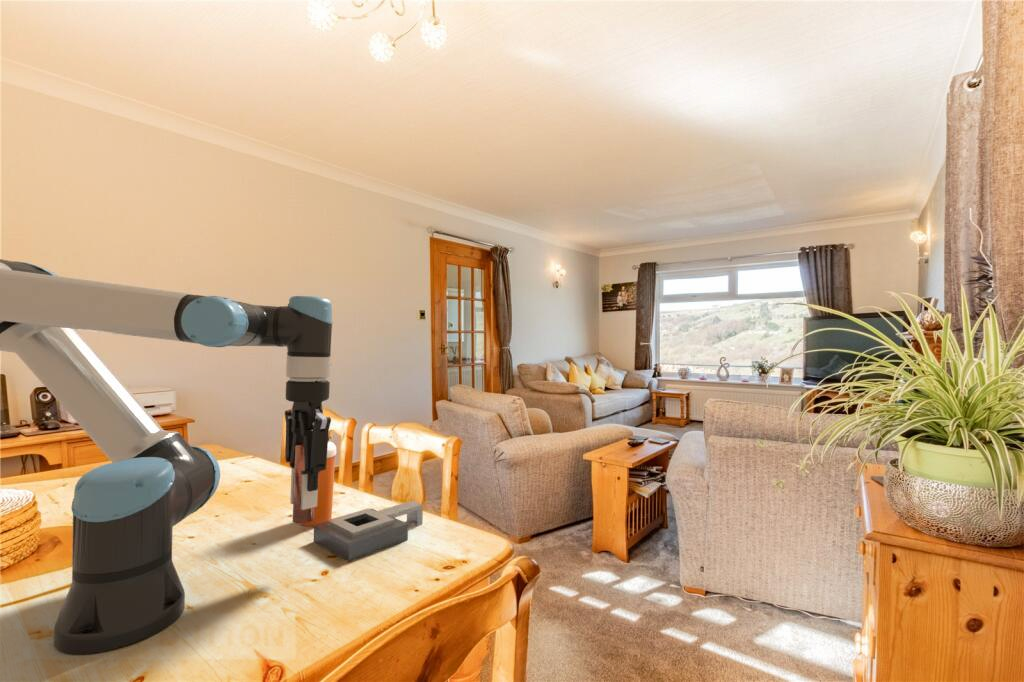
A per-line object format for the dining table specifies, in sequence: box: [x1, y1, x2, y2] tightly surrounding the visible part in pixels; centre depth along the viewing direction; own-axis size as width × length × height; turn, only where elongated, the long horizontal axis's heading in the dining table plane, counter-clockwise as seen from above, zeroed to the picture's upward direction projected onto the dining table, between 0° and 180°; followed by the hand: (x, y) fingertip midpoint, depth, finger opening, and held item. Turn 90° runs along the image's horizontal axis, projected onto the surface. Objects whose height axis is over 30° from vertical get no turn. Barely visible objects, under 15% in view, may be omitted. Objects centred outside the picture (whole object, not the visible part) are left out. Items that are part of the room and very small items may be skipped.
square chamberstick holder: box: [313, 508, 409, 563], centre depth 102 cm, size 14×14×4 cm
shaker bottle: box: [300, 436, 337, 527], centre depth 113 cm, size 9×9×20 cm
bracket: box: [327, 500, 424, 538], centre depth 105 cm, size 20×10×4 cm, turn 139°
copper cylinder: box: [292, 443, 314, 525], centre depth 88 cm, size 4×4×14 cm
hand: (303, 504), depth 88 cm, fingers closed on copper cylinder, 4 cm apart
